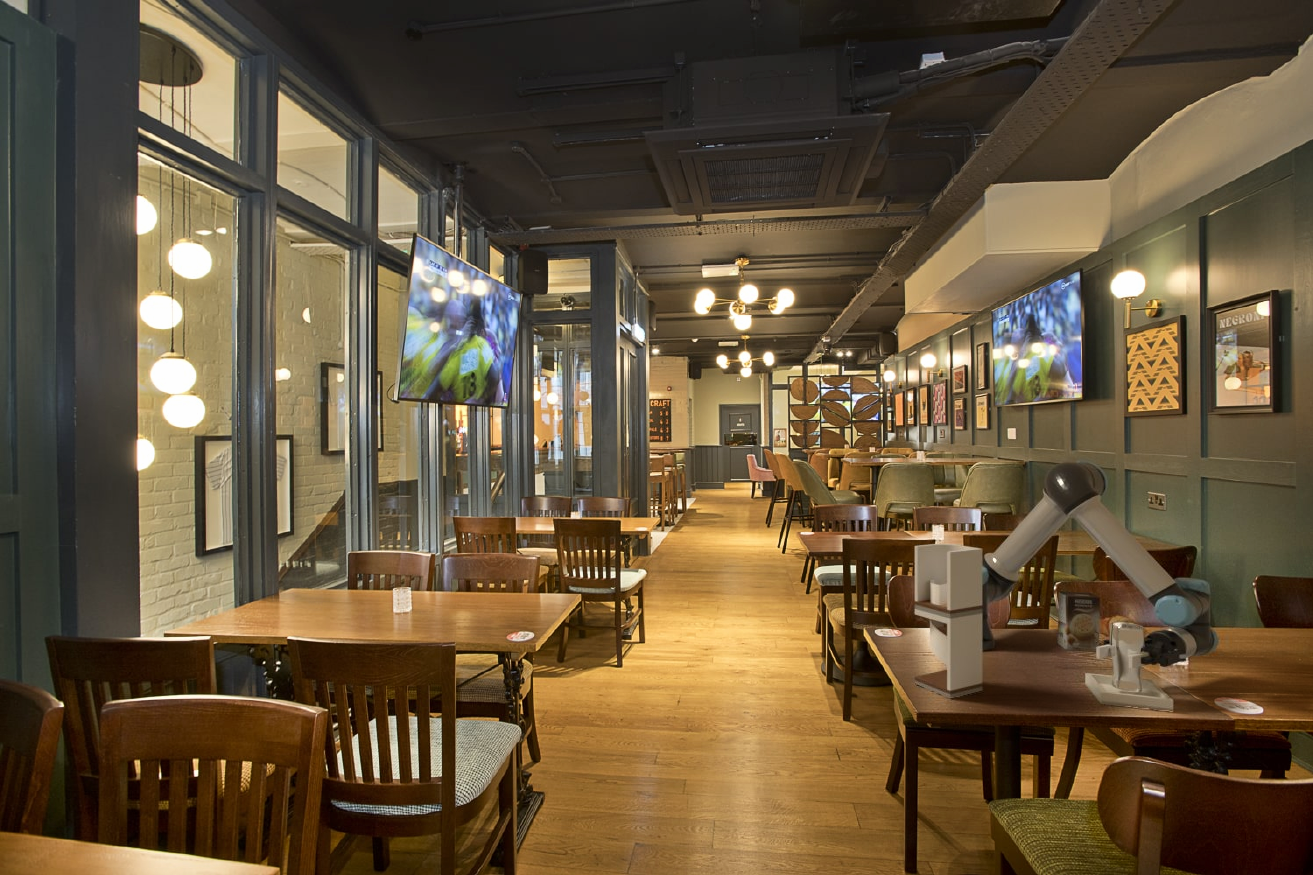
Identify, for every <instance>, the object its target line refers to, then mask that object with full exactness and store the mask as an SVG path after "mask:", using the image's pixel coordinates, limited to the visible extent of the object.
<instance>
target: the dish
mask: <svg viewBox="0 0 1313 875" xmlns="http://www.w3.org/2000/svg"><path fill="white" fill-rule="evenodd" d="M1084 675H1085V677H1084V678H1085V679H1084V680H1085V682H1084V683H1085V685H1086V687H1087V688H1088V689H1089V691H1090V692H1091V693H1092V694H1093V695H1094V697H1095V699H1097V701H1098V702H1099V704H1100V705H1103V706H1104V704H1105V706H1111V705H1114V706H1113V707H1120V706H1131V707H1138V708H1149V709H1156V710H1169V711H1173V712H1174V699H1173V698H1171V697H1170V696H1169V695H1168V693H1166V692H1165V691H1164V690H1163V689H1162V688H1161V687H1160V686H1158V684H1156V682H1154V681H1153V680H1152V679H1147V678H1140V679H1141V684H1142V691H1141V692H1126V691H1122V690H1119V689H1116V688H1114V687H1113V686H1112V679H1113V675H1110V674H1109V675H1108V674H1101V673H1100V674H1099V673H1089V672H1085V674H1084Z"/></svg>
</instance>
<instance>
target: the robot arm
mask: <svg viewBox="0 0 1313 875" xmlns="http://www.w3.org/2000/svg"><path fill="white" fill-rule="evenodd" d="M1108 486H1109V482H1108V477H1107V474H1106V473H1105V471H1104V470H1103V469H1102V468H1101V467H1100V466H1099V465H1097V464H1095V463H1093V462H1089V461H1086V460H1077V461H1064V462H1060V463H1057V464H1055V465H1053V466H1052V467H1051V468H1050V469H1049V470H1048V471H1047V473H1046V474H1045V479H1044V488H1043V489H1042V493H1043V497H1042V499H1041V500H1040V501H1039V502H1038V503H1037V504H1036V505H1035V506H1034V508H1032V510H1031V511H1030V512H1029V513H1028V514H1027V515H1026V516H1025V518H1023V520H1021V522H1020V523H1019V524H1018V526H1016V528H1014V530H1013V531H1012V532H1011V533H1010V534H1009V535H1008V536H1007V538H1006V539H1005V540H1004V541H1003V542H1002V543H1001V544H1000V545H999V547H997V548H996V550H995V551H994V552H988V553H987V552H986V553H985V554H984V555H983V556H982V652H984V651H990V650H993V649H994V648H995V637H994V634H993V631H992V629H991V626H990V623H989V619H988V618H989V604H991V603H994V602H999V601H1002V600H1004V599H1005V598H1007V597H1008V596H1009V595H1010V594H1011V593H1012V591H1013V589H1014V587H1015V584H1016V583H1017V582H1018V581H1019V579H1020V574H1019V572H1020V571H1021V570H1022V568H1024V567H1025V566H1026V564H1028V562H1029V561H1030V560H1031V559H1032V558H1033V557H1034V556H1035V555H1036V554H1037V553H1038V551H1039V550H1040V549H1041V548H1042V547H1044V545H1045V544H1046V543H1047V542H1048V541H1049V540H1050V538H1052V537H1053V535H1054V534H1055V533H1056V532H1057V531H1058V530H1059V529H1060V528H1061V527H1062V526H1063V525H1064V524H1065V523H1066V521H1067V520H1069V519H1074V520H1075V521H1076V522H1077V523H1078V524H1079V525H1080V526H1081V528H1083V529H1084V531H1085V532H1086V533H1087V534H1088V536H1090V537H1091V538H1092V540H1093V541H1094V542H1095V543H1096V544H1097V545H1098V546H1099V547H1100V548H1101V549H1102V551H1104V552H1105V554H1106V555H1107V556H1108V557H1109V558H1110V560H1111V561H1113V563H1114V564H1115V565H1116V566H1117V567H1118V568H1119V569H1120V570H1121V571H1122V573H1124V575H1125V576H1126V577H1127V578H1128V580H1130V582H1132V584H1133V585H1134V586H1135V587H1136V588H1137V590H1139V592H1140V593H1142V596H1144V597H1145V598H1146V599H1147V600H1148V601H1149V603H1151V605H1152V606H1153V608H1154V614H1155V615H1156V617H1157V619H1158V620H1159V621H1160V622H1161V623H1163V624H1164V625H1166V626H1167V627H1169V628H1165V629H1161V630H1155V631H1152V632H1150V634H1149V635H1148V636H1147V637H1146V638H1145V652H1144V653H1139V654H1134V655H1130V656H1129V668H1136V667H1140V666H1142V667H1143V666H1148V665H1152V666H1157V664H1158V665H1159V666H1160V667H1162V668H1167V667H1169V666H1172V665H1174V664H1175V665H1176V664H1177V663H1180V662H1181V663H1182V662H1187V658H1192V657H1197V656H1204V655H1206V654H1209V653H1211V652H1212V651H1214V650H1216V648H1217V647H1218V645H1219V637H1218V634H1217V632H1216V631H1215V630H1214V628H1212V627H1211V597H1212V594H1211V588H1210V587H1211V586H1210V583H1209V582H1208V581H1206V580H1204V579H1201V578H1192V577H1176V578H1172V576H1171V575H1170V574H1169V573H1168V572H1167V571H1166V570H1165V569H1164V568H1163V567H1162V566H1161V565H1160V564H1159V562H1158V561H1156V559H1155V558H1154V557H1153V556H1152V555H1151V554H1150V553H1149V551H1147V550H1146V549H1145V548H1144V547H1143V545H1141V543H1140V542H1139V541H1138V540H1137V539H1136V538H1135V537H1134V536H1133V535H1132V534H1131V532H1129V531H1128V530H1127V529H1126V527H1125V526H1124V525H1123V524H1122V523H1121V522H1120V521H1119V520H1118V518H1116V517H1115V516H1114V515H1113V514H1112V512H1111V511H1109V509H1108V508H1107V507H1106V506H1105V505H1104V504H1103V503H1102V502H1101V498H1102V497H1103V496H1104V495H1105V493H1106V492H1107V490H1108ZM1095 652H1096V657H1095V658H1096V659H1098V660H1100V659H1101V660H1102V659H1105V658H1109V657H1110V658H1112V657H1111V652H1110V642H1109V639H1104V640H1103V645H1099V646H1098V647H1096V651H1095Z"/></svg>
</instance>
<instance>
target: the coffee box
mask: <svg viewBox="0 0 1313 875" xmlns="http://www.w3.org/2000/svg"><path fill="white" fill-rule="evenodd" d="M1057 599H1058V606H1057V608H1058V609H1057V611H1058V612H1057V644H1058V645H1059V646H1061V648H1063V649H1065V650H1069V651H1083V652H1084V651H1085V652H1096V647H1098V646H1100V632H1099V628H1100V619H1101V617H1100V615H1101V614H1100V610H1101V607H1100V606H1101V597H1100V596H1098V595H1096V594H1093V593H1091V592H1078V591H1061V590H1058V598H1057Z"/></svg>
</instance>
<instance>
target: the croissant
mask: <svg viewBox="0 0 1313 875" xmlns="http://www.w3.org/2000/svg"><path fill="white" fill-rule="evenodd" d="M1112 622H1127V623H1133V624H1137V623H1135V621H1133V620H1132V619H1130V618H1128V617H1125V616H1121V615H1118V614H1116V615H1112V617H1105V618H1104V619H1102V618H1100V628H1099V633H1100V632H1101V633H1100V634H1102V635H1104V636H1106V635H1107V636H1106V637H1108V636H1110V627H1111V623H1112ZM1137 625H1140V626H1142V627H1144V638H1146V637H1147V636H1148V635H1149V634H1150V633H1151V632H1149V631H1148V630H1147V629H1146V628H1145V626H1143V625H1141V624H1137Z"/></svg>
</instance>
